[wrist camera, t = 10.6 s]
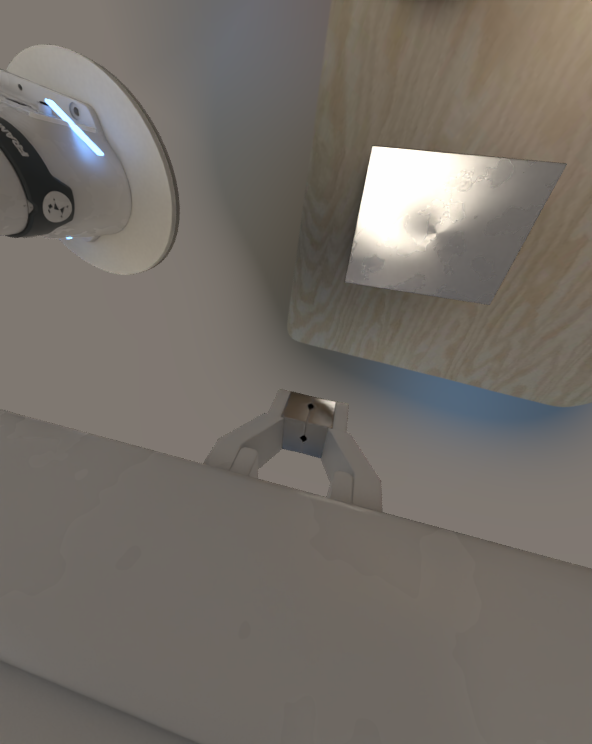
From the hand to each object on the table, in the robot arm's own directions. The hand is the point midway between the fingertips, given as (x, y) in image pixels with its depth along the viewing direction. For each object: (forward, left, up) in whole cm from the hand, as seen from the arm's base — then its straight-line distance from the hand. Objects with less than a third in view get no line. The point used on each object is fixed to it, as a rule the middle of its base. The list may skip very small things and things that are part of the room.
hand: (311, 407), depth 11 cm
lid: (+6, +8, -25) cm, 27 cm away
